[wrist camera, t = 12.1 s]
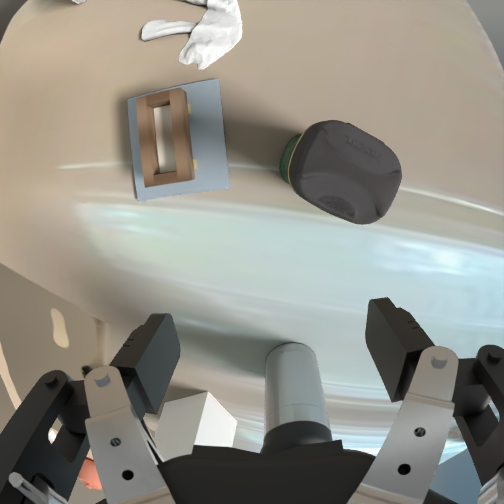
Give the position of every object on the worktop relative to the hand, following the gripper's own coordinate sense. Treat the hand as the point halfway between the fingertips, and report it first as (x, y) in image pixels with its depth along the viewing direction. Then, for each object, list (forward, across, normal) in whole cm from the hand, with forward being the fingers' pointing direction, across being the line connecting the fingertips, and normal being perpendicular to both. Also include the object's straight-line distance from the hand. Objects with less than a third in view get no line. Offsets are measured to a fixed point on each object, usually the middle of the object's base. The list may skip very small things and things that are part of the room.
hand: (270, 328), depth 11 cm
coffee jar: (+30, -7, -5) cm, 31 cm away
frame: (+27, +12, -11) cm, 31 cm away
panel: (+30, +12, -11) cm, 34 cm away
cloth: (+31, +9, -33) cm, 46 cm away
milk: (+30, +18, +43) cm, 56 cm away
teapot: (+30, +76, +93) cm, 124 cm away
